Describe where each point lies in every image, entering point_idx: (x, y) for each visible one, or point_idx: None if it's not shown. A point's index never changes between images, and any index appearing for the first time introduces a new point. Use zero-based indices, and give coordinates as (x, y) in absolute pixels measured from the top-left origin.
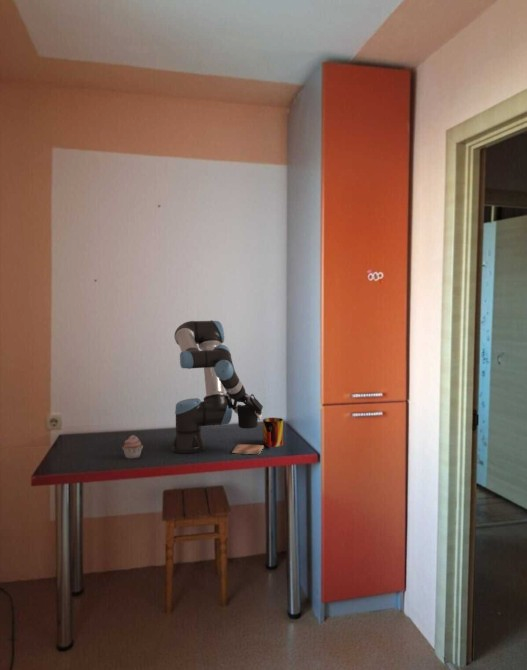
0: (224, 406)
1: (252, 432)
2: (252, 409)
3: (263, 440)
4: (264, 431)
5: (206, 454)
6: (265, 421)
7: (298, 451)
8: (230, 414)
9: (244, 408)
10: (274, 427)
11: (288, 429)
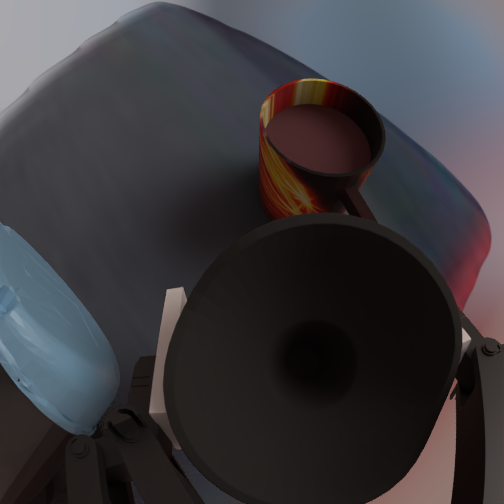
0: (24, 421)
1: (129, 110)
2: (433, 413)
3: (275, 214)
4: (294, 201)
5: None
6: (315, 174)
7: (442, 229)
8: (111, 393)
9: (365, 493)
10: (363, 181)
11: (228, 35)
